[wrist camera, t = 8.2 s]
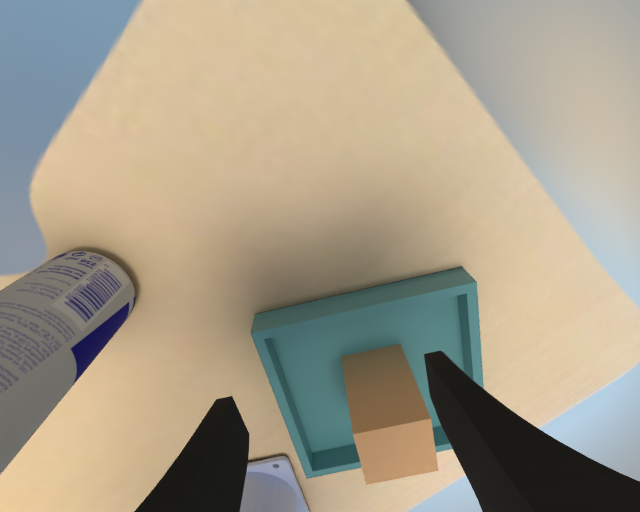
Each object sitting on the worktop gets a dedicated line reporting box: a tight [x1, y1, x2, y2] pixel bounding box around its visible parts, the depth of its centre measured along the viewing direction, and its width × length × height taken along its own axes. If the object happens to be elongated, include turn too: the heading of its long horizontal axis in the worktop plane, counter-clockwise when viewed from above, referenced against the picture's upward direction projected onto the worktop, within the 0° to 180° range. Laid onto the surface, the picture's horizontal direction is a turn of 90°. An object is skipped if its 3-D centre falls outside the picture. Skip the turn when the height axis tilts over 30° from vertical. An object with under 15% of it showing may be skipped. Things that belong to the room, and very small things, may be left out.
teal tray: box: [251, 267, 484, 478], centre depth 24 cm, size 13×13×2 cm
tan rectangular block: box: [341, 344, 438, 485], centre depth 21 cm, size 4×4×6 cm
